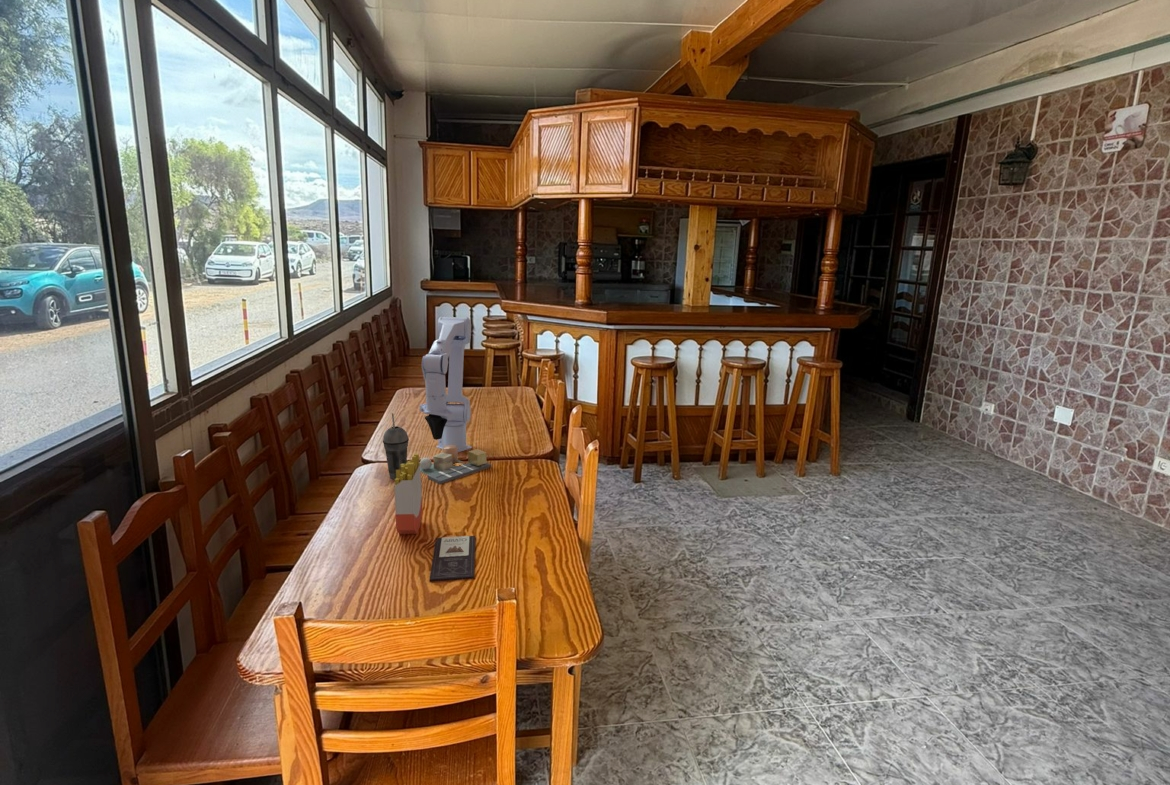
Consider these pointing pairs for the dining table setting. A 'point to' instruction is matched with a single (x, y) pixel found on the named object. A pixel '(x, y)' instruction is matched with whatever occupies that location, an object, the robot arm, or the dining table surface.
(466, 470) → the board
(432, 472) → the slate mat
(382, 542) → the dining table surface
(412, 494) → the french fries container
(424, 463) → the grey ball
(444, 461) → the birch block
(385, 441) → the beverage cup
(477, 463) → the tan cardboard cube
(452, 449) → the peach domed cylinder
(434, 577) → the chocolate bar
